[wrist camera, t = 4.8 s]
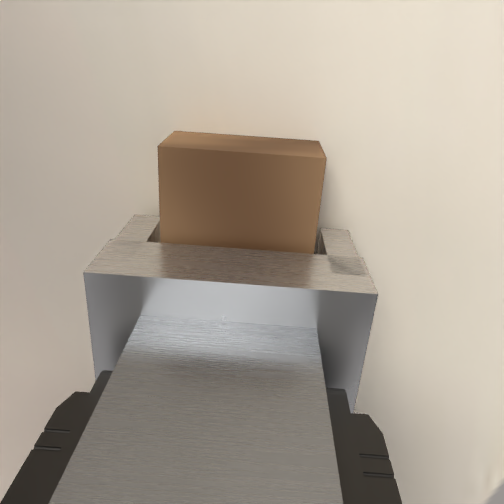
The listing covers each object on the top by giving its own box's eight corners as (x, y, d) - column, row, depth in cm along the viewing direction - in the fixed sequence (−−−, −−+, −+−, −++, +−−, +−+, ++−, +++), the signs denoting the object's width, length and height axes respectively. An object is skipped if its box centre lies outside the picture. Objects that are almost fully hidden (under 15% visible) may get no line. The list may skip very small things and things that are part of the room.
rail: (180, 552, 21) (171, 602, 19) (174, 130, 12) (157, 146, 11) (266, 559, 20) (266, 609, 19) (318, 140, 12) (326, 158, 11)
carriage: (140, 376, 16) (-28, 800, 7) (131, 214, 13) (-157, 562, 4) (324, 390, 15) (390, 836, 7) (351, 230, 13) (512, 618, 4)
